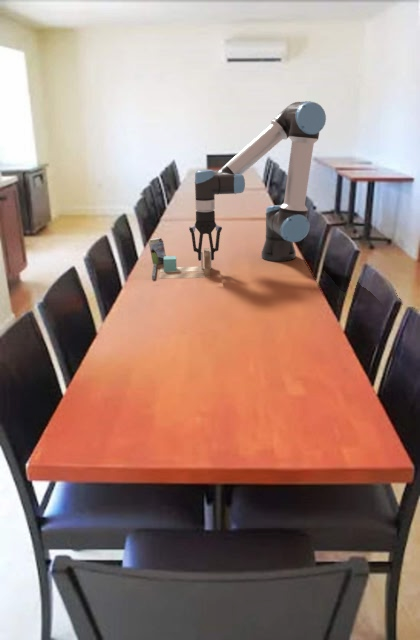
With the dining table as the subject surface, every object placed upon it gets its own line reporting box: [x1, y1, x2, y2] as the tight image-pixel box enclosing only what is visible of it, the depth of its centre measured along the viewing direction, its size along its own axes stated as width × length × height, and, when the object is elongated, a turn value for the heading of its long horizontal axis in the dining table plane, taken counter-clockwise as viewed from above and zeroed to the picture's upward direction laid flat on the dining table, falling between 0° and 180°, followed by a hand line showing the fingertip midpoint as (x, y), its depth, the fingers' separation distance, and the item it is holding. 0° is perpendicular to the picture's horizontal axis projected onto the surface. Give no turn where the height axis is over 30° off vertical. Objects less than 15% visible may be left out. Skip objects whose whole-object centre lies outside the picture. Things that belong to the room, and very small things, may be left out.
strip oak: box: [158, 252, 211, 280], centre depth 221 cm, size 20×7×9 cm, turn 93°
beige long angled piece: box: [159, 247, 210, 273], centre depth 230 cm, size 20×7×9 cm, turn 93°
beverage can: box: [148, 236, 167, 266], centre depth 240 cm, size 6×7×12 cm
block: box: [163, 255, 177, 273], centre depth 230 cm, size 5×5×5 cm
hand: (206, 267), depth 231 cm, fingers closed on beige long angled piece, 3 cm apart
